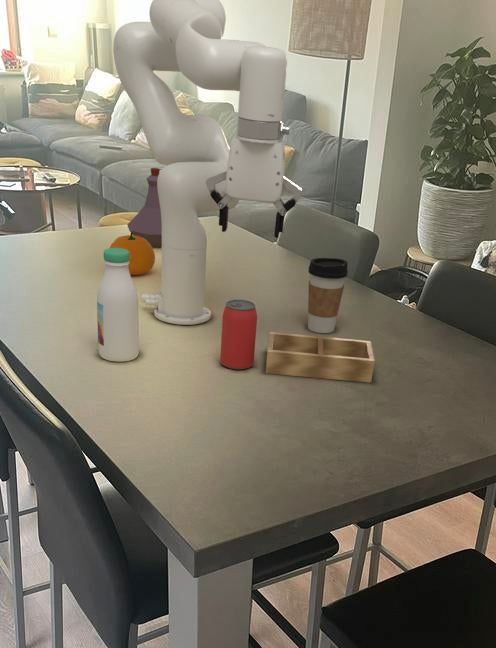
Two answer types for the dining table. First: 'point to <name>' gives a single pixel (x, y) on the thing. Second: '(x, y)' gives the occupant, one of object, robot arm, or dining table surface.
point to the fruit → (136, 253)
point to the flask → (149, 215)
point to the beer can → (238, 334)
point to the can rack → (320, 357)
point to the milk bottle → (117, 309)
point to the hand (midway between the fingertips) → (250, 232)
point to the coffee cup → (325, 292)
